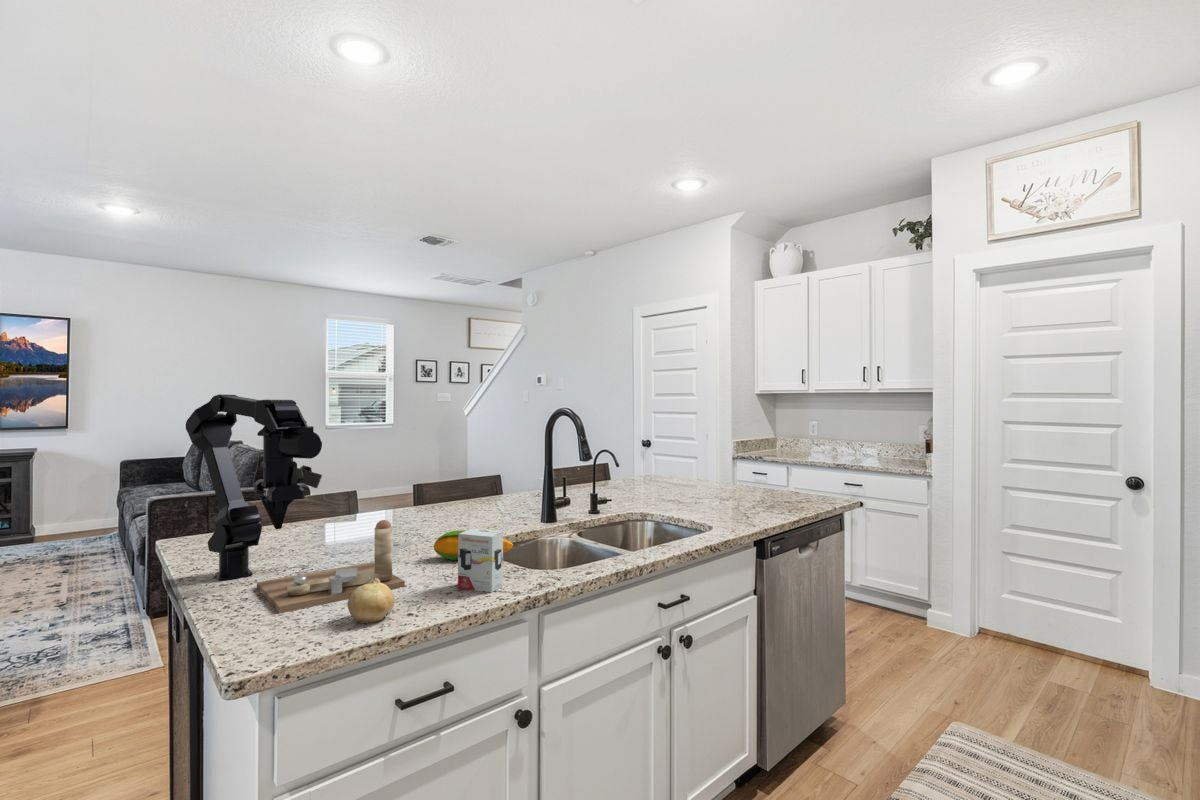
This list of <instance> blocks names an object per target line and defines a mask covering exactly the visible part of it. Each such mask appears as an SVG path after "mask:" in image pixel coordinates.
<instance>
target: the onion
mask: <svg viewBox="0 0 1200 800" xmlns="http://www.w3.org/2000/svg"><path fill="white" fill-rule="evenodd" d="M368 578H369V580H371V581H370V582H369V583H368V584H364V585H362V586H360V587H358V588H357V589H356V590H354V591H353V593H352V594H351V595H350V597H349V599H347V603H346V604H347V605H346V606H347V609H348V612H349V615H350V616H351V617H352V618H353V620H354V622H356V623H361V622H364V624H367V623H366V622H369V623H375V621H377V622H380V621H381V620H384V617H387V616H389V615H390V614H391V612H392V611H393V609H394V606H395V595H394V593H393V591H392V589H391V590H390V588H389V587H388V586H387V585H385V584H383V583H380V580H379V579H378V578H374V579H371V578H370V577H368Z"/></svg>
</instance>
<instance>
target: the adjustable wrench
mask: <svg viewBox="0 0 1200 800" xmlns="http://www.w3.org/2000/svg"><path fill="white" fill-rule="evenodd" d="M410 545H412V546H413V540H411V539H405V540H404V541H403V542H402V541H401V542H397V541H396V540H392V558H393V557H394V556H395V555H396V554H397V555H398V553H399V552H400V551H399V550H400V549H403V548H405V547H407V546H410ZM403 550H404V549H403ZM398 551H399V552H398ZM397 552H398V553H397ZM397 555H396V556H397ZM396 556H395V557H396ZM395 557H394V558H395ZM394 558H393V559H394Z"/></svg>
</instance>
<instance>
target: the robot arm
mask: <svg viewBox="0 0 1200 800" xmlns="http://www.w3.org/2000/svg"><path fill="white" fill-rule="evenodd" d="M224 413H225V414H224ZM237 415H239V416H243V417H244V416H245V417H248V418H252V419H253V420H254V422H256V423H257V424H259V425H262V426H263V427H262V428H261V429H260V430H259V431H258V432H257V436H258V437H262V442H263V445H262V447H263V449H262V454H263V455H262V457H263V459H262V460H263V461H261V462H260V466H261V468H263V469H262V471H263V473H262V477H263V478H261V479H260V478H259V479H257V480H256V481H255V482H254V483H253V492H254V493H255V494H259V493H260V492H263V495H261V496H260V495H259V499H260V502H261V503H262V504H263V506H264V509H265V511H266V512H267V515H268V517H269V519H270V521H271V524H272V525H273V528H274V529H275V530H280V529H282V527H283V523H284V520H285V518H286V513H287V510H288V507H289V506H290V504H291V503H293V501H295V500H296V501H297V500H303V499H305V498H306V497H305V496H306V493H305V492H306V491H305V488H304V487H302V486H301V485H306V486H308V487H312V488H313V489H318V487H319V484H320V483H321V479H322V477H323V474H320V473H317V472H313V470H312V467H310V466H306V465H301V467H299V468H298V462H296V461H294V458H295V459H306V460H307V459H309V460H310V459H314V458H315V457H317V456H318V455H319V454H320V453H321V451H322V447H323V441H322V440H321V437H320V436H319V434H317V433H316V432H315V431H314V428H315V427H314V426H310V425H309V426H308V424H307V421H306V420H305V418H304V415H303V413H302V412H301V409H300V408H299V407H298V405H297V402H296V401H295V400H293V399H255V398H250V397H243V396H238V395H236V394H221V393H220V394H216V395H213V396H212V397H211V399H209V401H208V402H206V403H205V404H203V405H201V406H199V407H197V408H196V409H194V410H193V412H192V413H191V414H190V416H189V417H188V418H187V420H186V422H185V431H186V432H187V434H188V437H189V438H190V441H191V444H193V445H195V447H197V449H199V450H201V452H202V453H203V455H204V459H205V462H206V466H207V468H208V473H209V476H210V480H211V483H212V487H213V489H214V494H215V497H216V501H217V504H218V507H219V512H218V515H216V516H217V517H216V519H215V523H214V525H215V531H214V532H213V534H212V535H211V536H210V538H209V539H208V541H207V547H208V551H209V552H212V553H218V571H216V572H215V573H214V575H215V576H216V578H217V579H218V581H225V580H230V579H232V580H233V579H236V578H241V577H243V578H244V577H247V576H253V575H254V572H253V571H252V570H251V569H250V568H249V563H250V562H249V555H250V553H249V552H250V550H249V548H250V547H253V546H258V545H259V543H260V538H261V535H262V531H263V525H262V521H263V520H262V519H261V516H260V514H259V509H258V507H257V505H256V504H252V505H250V504H249V503H247V502H246V501H245V499H244V495H243V492H242V488H241V486H240V482H239V478H238V475H237V472H236V468H235V465H234V462H233V458H232V455H231V452H230V448H229V443H230V440H231V437H232V435H233V430H232V428H233V427H234V425H235V424H236V423H237V422H238V419H237ZM299 484H301V485H299Z"/></svg>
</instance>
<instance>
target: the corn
mask: <svg viewBox="0 0 1200 800" xmlns="http://www.w3.org/2000/svg"><path fill="white" fill-rule="evenodd" d="M467 530H468V529H465V530H463V529H462V530H451V531H448V532H446V533H444V534H442V535H440V536H439V537H438V538H437V539H436V540H435V542H434V543H433V550H434V552H435V553H436V554H437V555H438V556H440V557H442V558H443V559H446V560H450V559H452V560H451V561H458V534H459V533H462V532H465V531H467ZM513 547H514V544H513V543H512V542H510V541H509V540H508V539H506V538H504V537H503V554H504V553H507V552H509V551H510V550H511V549H512V548H513Z"/></svg>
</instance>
